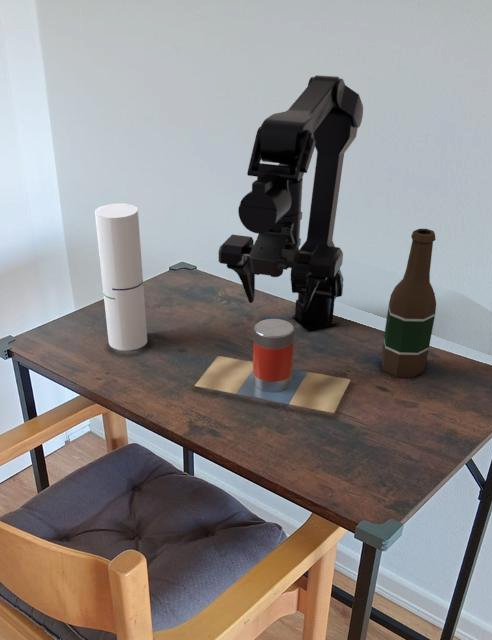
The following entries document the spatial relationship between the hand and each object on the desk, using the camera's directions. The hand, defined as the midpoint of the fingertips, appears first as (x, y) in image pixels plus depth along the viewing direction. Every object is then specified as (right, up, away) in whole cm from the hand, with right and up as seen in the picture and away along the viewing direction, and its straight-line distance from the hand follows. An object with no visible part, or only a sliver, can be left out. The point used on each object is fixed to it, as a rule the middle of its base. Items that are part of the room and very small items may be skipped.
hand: (278, 306), depth 123 cm
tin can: (-1, -12, +4) cm, 13 cm away
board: (-1, -13, +4) cm, 13 cm away
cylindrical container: (-26, -4, +17) cm, 31 cm away
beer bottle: (+23, -9, +9) cm, 26 cm away
